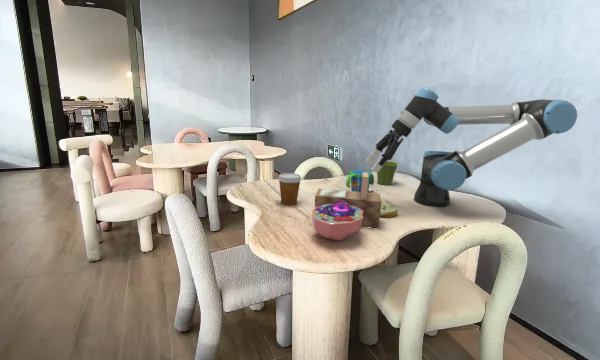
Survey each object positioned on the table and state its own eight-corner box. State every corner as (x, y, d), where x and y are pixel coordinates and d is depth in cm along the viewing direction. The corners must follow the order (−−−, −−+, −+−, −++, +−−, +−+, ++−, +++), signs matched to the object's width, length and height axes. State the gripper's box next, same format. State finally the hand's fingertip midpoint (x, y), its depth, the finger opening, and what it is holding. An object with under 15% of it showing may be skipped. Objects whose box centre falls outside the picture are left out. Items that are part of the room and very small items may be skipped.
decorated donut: (382, 220, 131) (383, 210, 130) (361, 211, 141) (361, 201, 140) (402, 215, 138) (403, 205, 137) (380, 206, 147) (381, 197, 146)
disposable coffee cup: (303, 202, 148) (305, 174, 145) (294, 208, 140) (295, 179, 137) (284, 198, 152) (284, 171, 149) (273, 204, 144) (274, 176, 141)
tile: (366, 193, 129) (368, 172, 127) (366, 199, 122) (368, 177, 120) (360, 193, 129) (362, 172, 127) (360, 198, 123) (362, 176, 121)
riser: (377, 218, 132) (380, 193, 130) (378, 228, 123) (381, 201, 120) (317, 213, 136) (318, 187, 133) (313, 222, 126) (315, 195, 124)
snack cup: (366, 188, 173) (367, 168, 171) (379, 194, 164) (381, 173, 162) (339, 191, 167) (340, 170, 164) (352, 197, 157) (353, 175, 155)
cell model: (298, 239, 111) (299, 205, 108) (327, 221, 128) (329, 191, 125) (346, 254, 103) (349, 218, 100) (371, 232, 119) (374, 201, 116)
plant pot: (398, 187, 179) (401, 165, 176) (375, 186, 179) (377, 164, 176) (393, 181, 190) (395, 161, 187) (371, 180, 190) (373, 160, 187)
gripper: (390, 114, 148) (359, 154, 154) (405, 123, 124) (368, 170, 130) (404, 124, 149) (373, 163, 155) (422, 135, 126) (384, 181, 131)
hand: (371, 166), depth 143 cm, fingers open, 13 cm apart
